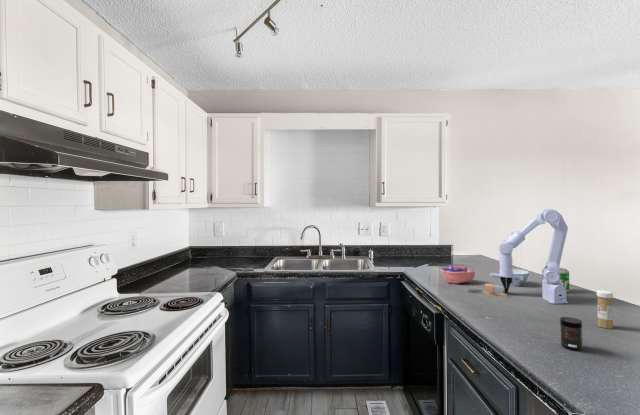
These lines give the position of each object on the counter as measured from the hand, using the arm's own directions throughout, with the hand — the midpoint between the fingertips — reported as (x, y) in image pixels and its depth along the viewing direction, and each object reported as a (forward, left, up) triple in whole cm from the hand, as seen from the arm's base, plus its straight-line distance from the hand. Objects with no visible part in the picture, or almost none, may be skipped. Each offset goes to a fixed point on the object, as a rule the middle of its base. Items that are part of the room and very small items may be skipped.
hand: (506, 292), depth 162 cm
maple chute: (+5, +8, -2) cm, 9 cm away
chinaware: (+21, -18, -2) cm, 28 cm away
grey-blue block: (+2, +3, -1) cm, 4 cm away
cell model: (+28, +12, -2) cm, 31 cm away
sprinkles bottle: (-43, -11, -2) cm, 44 cm away
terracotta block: (+4, +6, -1) cm, 8 cm away
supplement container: (-58, +15, -2) cm, 60 cm away
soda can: (+4, -32, -2) cm, 32 cm away
